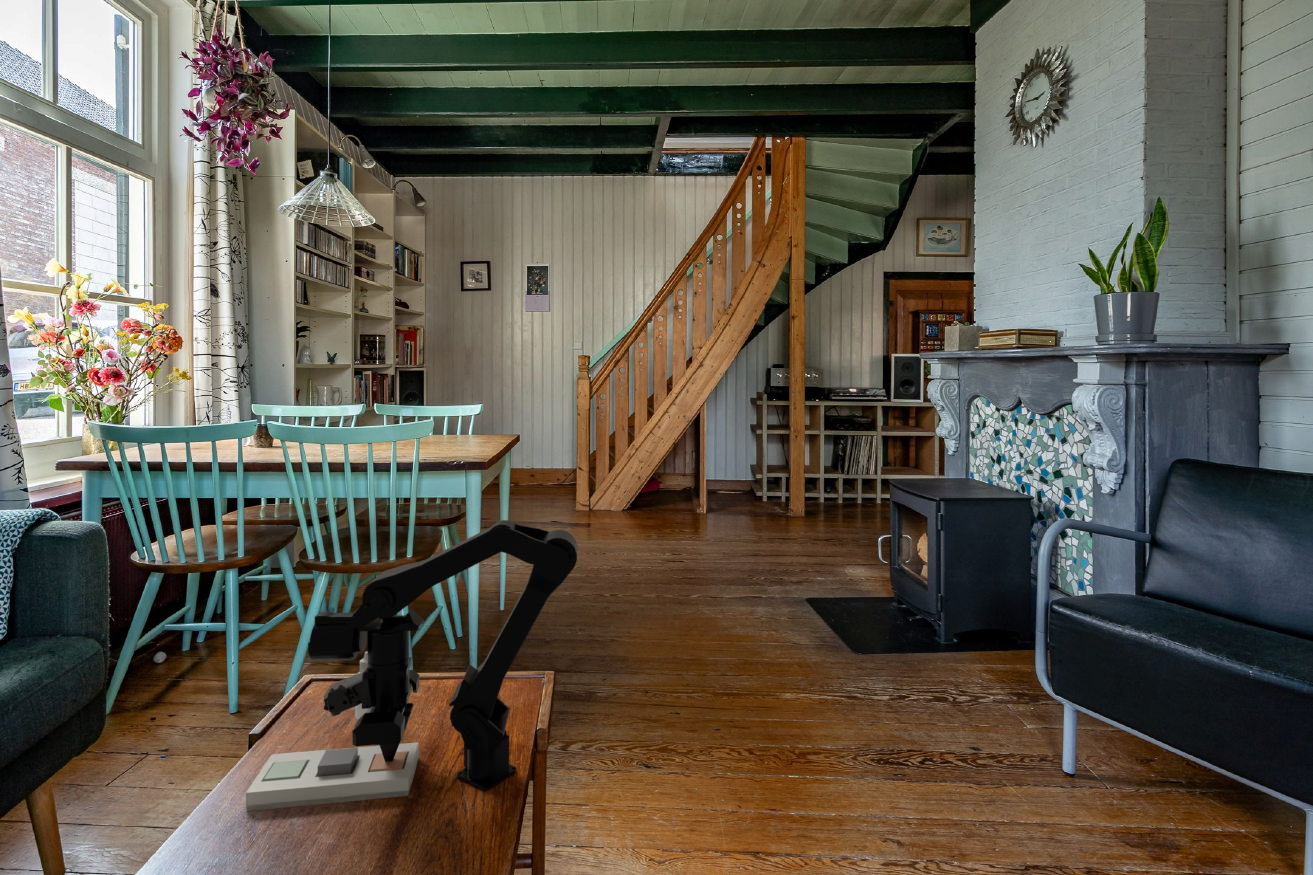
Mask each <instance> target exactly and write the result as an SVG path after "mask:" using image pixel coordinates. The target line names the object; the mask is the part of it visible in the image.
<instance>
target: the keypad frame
mask: <svg viewBox="0 0 1313 875" xmlns="http://www.w3.org/2000/svg"><path fill="white" fill-rule="evenodd" d="M355 748H358V761H357V764H356V766H355V768H354V771H353V773H352V774H343V775H332V776H321V777H318V764H319V763H320V761H321V759H322V757H323V755H324V753H325V751H326V750H327V749H321V750H310V751H296V752H284V753H273V754H271V755H270V757H269V758H268V759H267V761H266V762H265V764H264V765H263V767H262V768H261V770H260V771H259V773H258V774H257V776H256V777H255V779H254V780H253V782H252V783H251V785H250V786H249V788H248V789H247V791H245V806H246V807H245V808H246V810H245V811H246V812H250V811H251V812H252V811H261V810H273V809H284V808H294V807H303V806H314V805H326V804H335V803H337V804H338V803H344V802H345V803H348V802H356V801H357V802H359V801H369V800H377V799H387V798H388V799H390V798H397V797H398V798H400V797H409V796H410V792H411V789H412V784H413V780H414V777H415V773H416V769H417V765H418V762H419V760H420V759H419V749H420V748H419V742H411V743H410V742H409V743H407V742H406V743H400V744H399V746H398V749H397V751H396V752H405V751H407V761H406V764H405V767H404V769H400V770H389V771H378V772H370V769H371V766H372V763H373V761H374V758H375V756H376V754H381V753H382V751H381V748H380V745H368V746H355ZM334 749H335V748H333V749H331V750H334ZM343 749H346V748H345V747H343ZM306 759H307V766H306V768H305V770H304V771H303V773H302V775H301V777H300V778H298V779H287V780H275V781H264V778H265V776H266V775H267V773H268V772H269V770H270V769H271V767H272V766H273V764H274V763H275V762H282V761H294V760H306Z"/></svg>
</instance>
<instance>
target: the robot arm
mask: <svg viewBox="0 0 1313 875" xmlns="http://www.w3.org/2000/svg"><path fill="white" fill-rule="evenodd" d="M578 548H579V547H578V542H577V539H576V538H575V537H574V535H573V534H572V533H571V532H569V531H566V530H564V529H555V530H552V531H549V530H546V529H542V528H539V527H534V526H528V525H523V524H518V523H515V522H512V521H510V520H508V519H506V520H504V519H502V520H499V521H497V522H495V523H494V524H493V525H492V526H490V527H488V528H486V529H485V530H483V531H480V532H477V533H476V534H474V535H472V536H470V537H468V538H466V539H464V540H462V541H460V542H459V543H456V544H454V545H452V546H450V547H448V548H447V549H444V550H442V551H440V552H438V553H436V554H434V555H432V556H431V557H428V558H426V559H424V560H420V561H417V562H412V563H411V562H410V563H406V564H403V565H399V566H396V567H393V568H390V569H386V570H384V571H383V572H381V573H380V574H379V575H378V576H377V577H375V578H374V579H373V580H372V581H370V583H368V584H367V585H366V586H365V588H364V590H363V593H362V595H361V598H362V599H361V600H362V604H361V605H360V606H359V607H358V608H356V610H355V611H354V612H332V611H320V612H319V613H318V614H316V616H314V624H313V627H312V629H311V633H310V638H309V641H308V643H307V649H308V650H307V652H308V656H309V658H310V660H311V661H314V662H315V661H322V662H323V661H355V660H356V659H357V657H358V655H359V653H363V652H364V653H365V650H366V648H367V652H368V665H367V669H366V671H364V672H363V673H359V672H358V673H359V674H357V673H356V674H354V675H351V676H349V677H346V678H344V679H341V680H338V681H336V682H333V683H332V684H331V685H330V686H329V687H328V688H327V690H326V692H325V693H324V695H323V702H324V705H323V710H324V711H327V712H329V713H330V716H331V717H336V716H338V715H340V714H341V713H343V712H345V711H347V710H350V709H352V708H355V706H357V705H359V704H361V703H362V709H367V708H371V707H372V708H371V710H370V712H369V713H364V714H363V715H362V716H361V717H360V718H359V719H358V721H357V720H356V723H355V725H354V727H353V728H352V731H351V732H352V738H351V739H352V744H351V745H352V746H354V747H368V746H380V748H381V751H382V754H383V757H384V760H385V762H391V761H393V759H394V757H395V754H396V751H397V749H398V746H399V744H401V741H402V739H403V736H404V732H405V731H406V728H407V726H408V722H409V720H410V718H411V717H410V716H411V713H412V710H413V708H414V703H413V702H409V698H410V696H411V693H413V694H417V693H418V691H419V688H420V674H419V673H418V672H417V671H416V670H414V669H411V666H412V656H411V657H410V632H413V631H414V632H415V631H418V630H419V629H420V627H421V626H422V625H423V623H424V622H425V620H424V618H422V617H421V616H420V615H419V614H417V613H416V612H415V611H414V609H409V611H408V612H407V613H406V614H404V615H401V614H400V615H397V614H398V613H399V612H401V611H403V610H404V609H405V608H406V607H408V606H409V605H411V604H412V603H413V602H414V601H415V600H417V599H418V598H419V597H420V596H422V595H423V594H424V593H426V592H427V591H428V590H430V588H432V587H434V586H436V585H438V584H440V583H442V582H444V581H445V580H447V579H450V578H452V577H454V576H456V575H458V574H460V573H462V572H463V571H466V570H467V569H470V568H472V567H474V566H475V565H477V564H479V563H481V562H484V561H485V560H488V559H489V558H491V557H493V556H495V555H497V554H500V553H504V554H507V555H510V556H512V557H514V558H516V559H518V560H520V561H523V562H525V563H526V564H530V565H532V568H531V572H530V575H529V578H528V581H527V583H526V584H525V587H524V589H523V590H522V592H521V594H520V595H519V597H518V599H517V601H516V603H515V605H514V607H513V608H512V610H511V612H510V614H509V616H508V618H507V619H506V621H505V623H504V625H503V627H502V628H501V631H500V632H499V634H498V636H497V638H496V639H495V641H494V644H493V645H492V647H491V649H490V651H489V653H488V654H487V656H486V658H485V660H484V661H482V663H481V664H480V665H479V666H478V667H477V668H476V667H474V666H473V665H471V664H468V667H467V669H466V671H465V673H464V675H463V676H464V677H463V678H462V680H461V682H459V683H458V684H457V686H456V688H455V690H454V693H453V694H452V696H451V699H450V702H449V703H448V704H449V705H448V706H449V707H452V709H451V710H450V712H449V713H450V714H449V720H450V723H451V725H452V727H453V729H454V730H455V731H456V732H458V733H459V734H460V735H461V738H462V740H463V767H464V768H463V769H461V770H460V771H458V772H457V773H456V777H457V778H458V779H460V780H462V781H464V782H467V783H469V784H470V785H472V786H475V787H476V788H479V789H481V790H483V791H488V790H490V789H492V788H493V787H494V786H496V785H498V784H499V783H501V782H502V781H504V780H505V779H507V778H509V777H510V776H512V775H513V774H515V773H517V771H518V769H517V766H514V765H512V764H510V735H509V734H507V730H506V728H507V724H508V719H509V715H510V711H511V709H510V707H509V706H508V705H507V704H506V703H504V702H503V700H501V699H500V698H499V694H500V691H501V688H502V684H503V682H504V679H505V677H506V675H507V673H508V671H509V669H510V668H511V666H512V664H513V663H514V661H515V659H516V657H517V655H518V654H519V652H520V650H521V648H522V647H523V646H522V645H523V644H524V643H525V641H526V638H527V636H528V635H529V633H530V632H531V629H532V628H533V626H534V624H535V622H536V620H537V619H538V617H539V615H540V613H541V612H542V609H543V608H544V606H545V604H546V602H547V600H548V599H549V597H550V596H551V595H552V594H553V593H554V592H555V591H556V590H558V588H559V587H561V585H562V584H563V582H564V581H565V580H567V579H566V578H568V577H569V575H570V574H571V572H572V571H574V568H575V567H576V565H577V561H578ZM377 619H378V620H377Z"/></svg>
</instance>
